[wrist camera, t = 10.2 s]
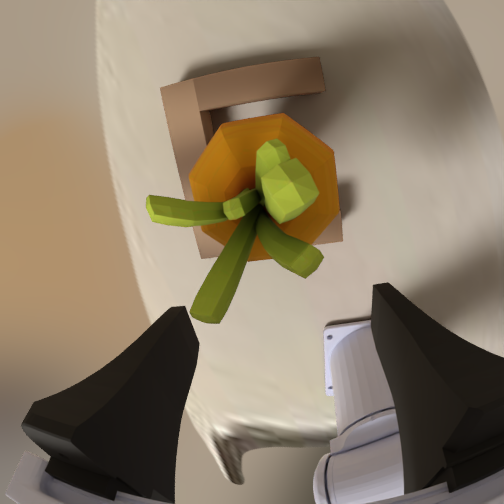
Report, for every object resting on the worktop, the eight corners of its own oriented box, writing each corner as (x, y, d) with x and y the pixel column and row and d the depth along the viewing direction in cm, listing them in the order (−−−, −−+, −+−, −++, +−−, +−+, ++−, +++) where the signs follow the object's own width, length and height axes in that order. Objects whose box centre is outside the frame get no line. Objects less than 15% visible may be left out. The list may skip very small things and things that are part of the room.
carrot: (260, 200, 20) (219, 389, 7) (218, 138, 18) (70, 220, 5) (326, 163, 18) (426, 304, 5) (285, 97, 17) (302, 48, 3)
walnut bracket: (336, 226, 20) (343, 241, 18) (209, 242, 22) (201, 258, 20) (314, 63, 16) (319, 56, 13) (174, 89, 17) (159, 87, 15)
